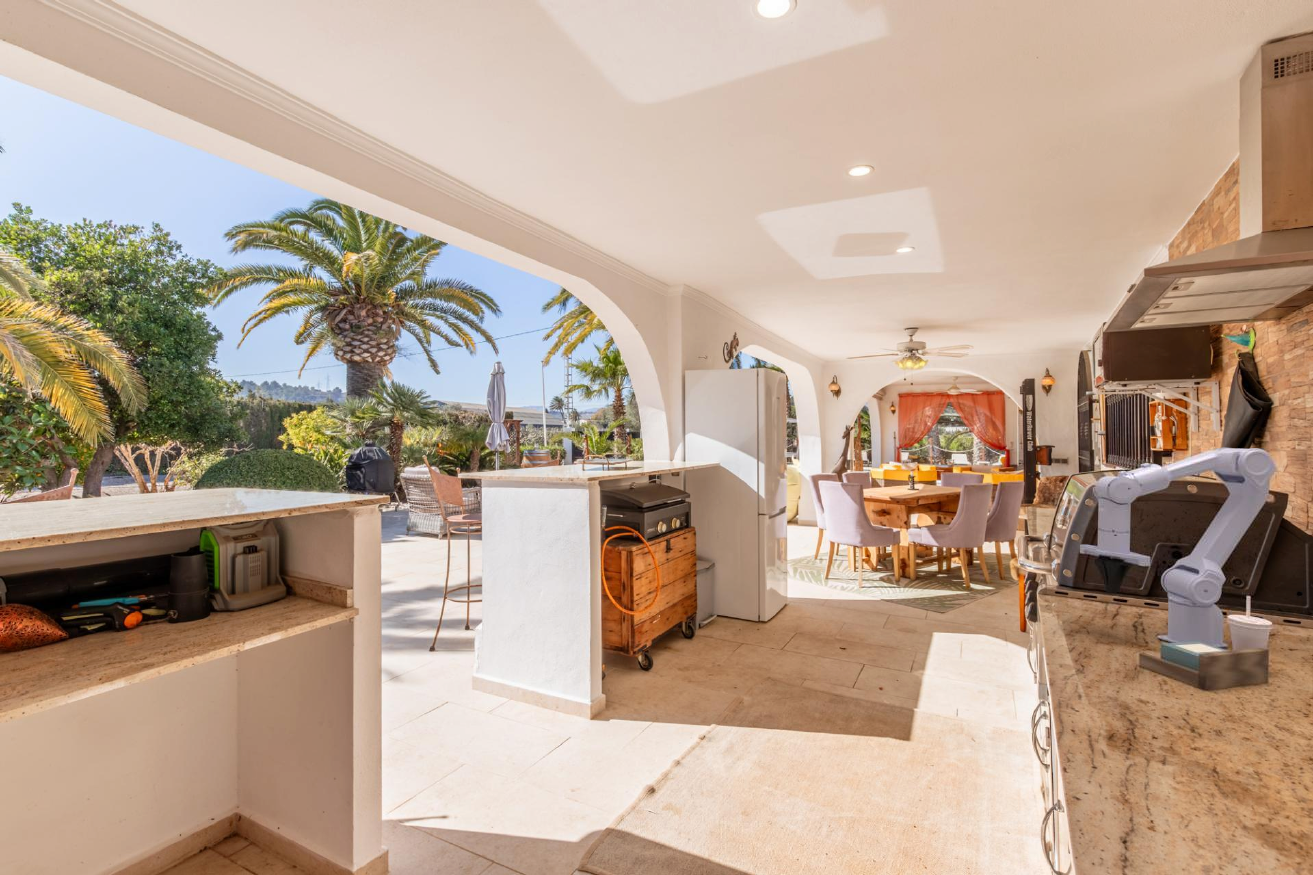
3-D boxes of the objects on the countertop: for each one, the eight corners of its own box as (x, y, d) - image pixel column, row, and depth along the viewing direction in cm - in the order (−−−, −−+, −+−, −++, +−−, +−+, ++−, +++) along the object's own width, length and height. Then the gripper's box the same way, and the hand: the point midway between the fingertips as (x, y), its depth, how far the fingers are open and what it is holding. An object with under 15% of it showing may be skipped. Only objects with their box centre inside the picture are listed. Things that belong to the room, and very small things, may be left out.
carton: (1198, 666, 121) (1198, 640, 121) (1238, 680, 114) (1238, 653, 114) (1160, 669, 119) (1160, 643, 119) (1198, 684, 112) (1199, 656, 112)
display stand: (1197, 659, 124) (1198, 630, 124) (1268, 682, 113) (1268, 650, 113) (1138, 666, 120) (1139, 635, 120) (1205, 690, 109) (1206, 656, 109)
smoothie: (1262, 666, 121) (1263, 595, 121) (1278, 678, 115) (1280, 603, 115) (1220, 661, 124) (1221, 591, 123) (1234, 672, 118) (1235, 598, 118)
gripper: (1069, 526, 142) (1068, 584, 142) (1132, 536, 128) (1131, 601, 128) (1093, 525, 144) (1092, 583, 144) (1158, 535, 130) (1157, 599, 130)
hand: (1112, 592), depth 136 cm, fingers closed
